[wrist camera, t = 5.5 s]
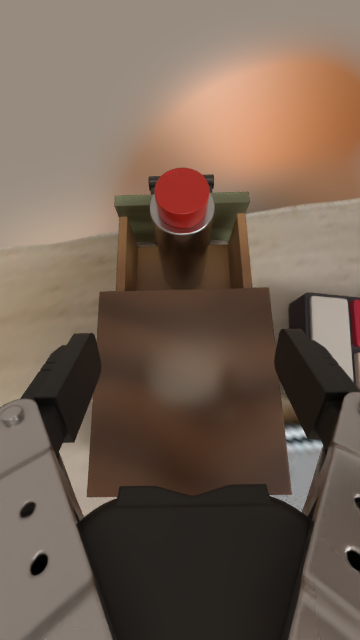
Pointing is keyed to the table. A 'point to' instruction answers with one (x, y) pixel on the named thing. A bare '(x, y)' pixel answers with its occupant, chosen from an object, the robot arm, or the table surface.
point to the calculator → (331, 327)
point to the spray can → (182, 226)
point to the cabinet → (187, 393)
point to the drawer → (222, 260)
